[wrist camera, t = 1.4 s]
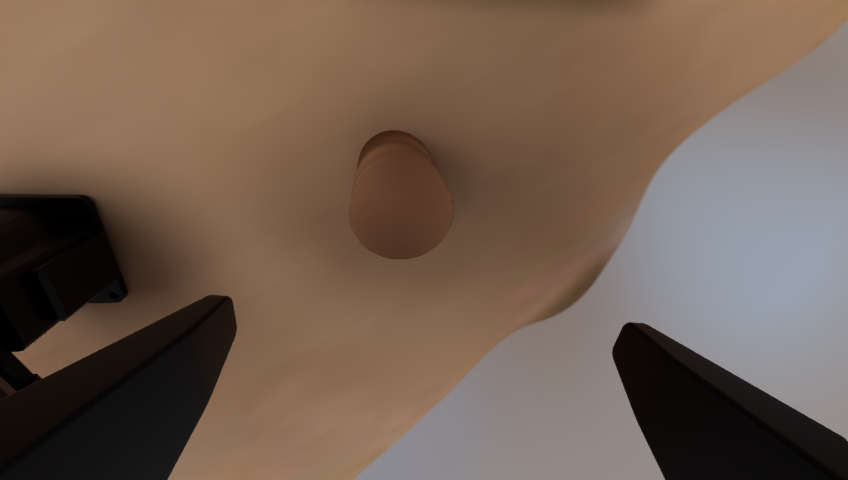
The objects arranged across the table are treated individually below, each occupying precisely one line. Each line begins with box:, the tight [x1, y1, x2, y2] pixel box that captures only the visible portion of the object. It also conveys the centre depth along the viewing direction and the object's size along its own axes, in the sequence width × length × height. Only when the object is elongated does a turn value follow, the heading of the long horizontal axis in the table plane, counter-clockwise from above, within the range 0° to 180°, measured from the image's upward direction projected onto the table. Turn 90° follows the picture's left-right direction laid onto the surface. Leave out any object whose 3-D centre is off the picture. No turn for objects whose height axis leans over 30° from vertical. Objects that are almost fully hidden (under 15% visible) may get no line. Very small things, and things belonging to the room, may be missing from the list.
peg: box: [349, 130, 453, 259], centre depth 17 cm, size 4×4×7 cm
